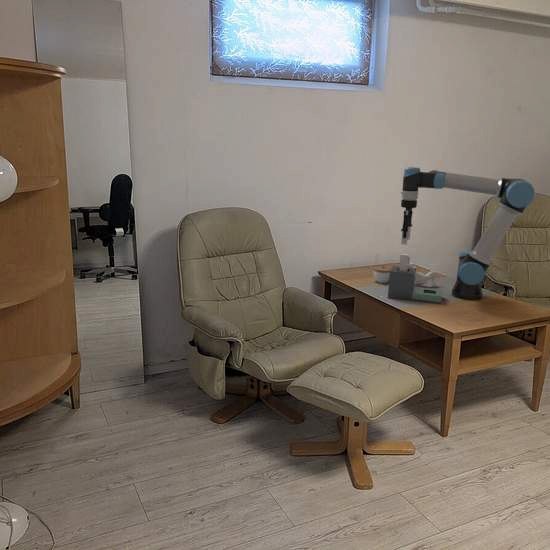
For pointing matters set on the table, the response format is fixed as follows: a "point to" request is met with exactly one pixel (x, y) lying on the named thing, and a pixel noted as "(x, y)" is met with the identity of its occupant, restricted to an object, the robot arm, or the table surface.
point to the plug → (404, 262)
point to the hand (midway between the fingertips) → (405, 241)
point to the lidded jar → (381, 273)
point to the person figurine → (424, 276)
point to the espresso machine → (410, 287)
